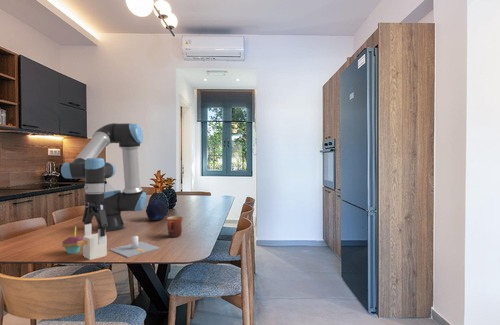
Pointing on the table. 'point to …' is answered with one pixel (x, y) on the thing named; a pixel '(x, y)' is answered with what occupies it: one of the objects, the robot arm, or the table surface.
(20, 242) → the table surface
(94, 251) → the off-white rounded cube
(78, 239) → the cupcake
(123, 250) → the post base
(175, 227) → the mug
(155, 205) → the decorative orb
